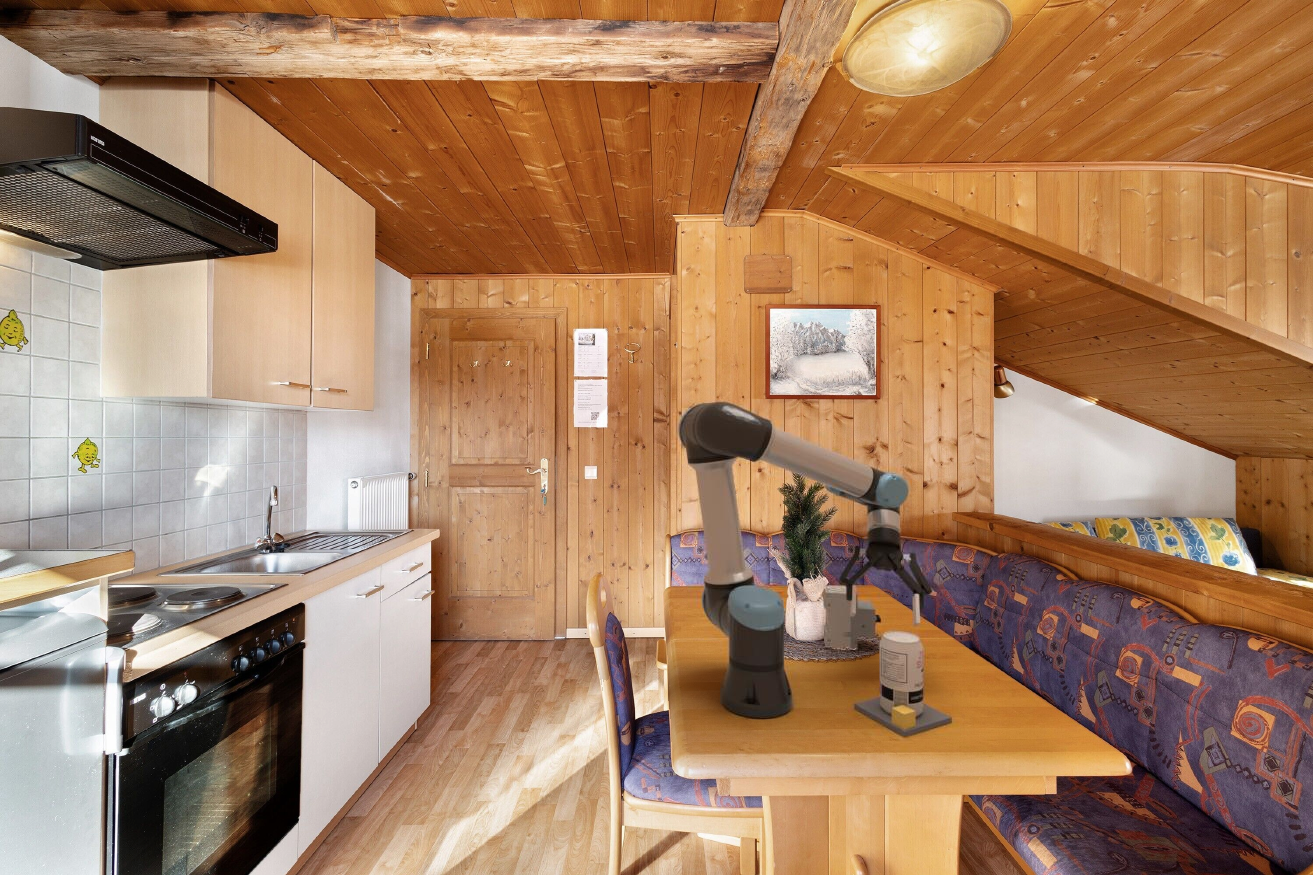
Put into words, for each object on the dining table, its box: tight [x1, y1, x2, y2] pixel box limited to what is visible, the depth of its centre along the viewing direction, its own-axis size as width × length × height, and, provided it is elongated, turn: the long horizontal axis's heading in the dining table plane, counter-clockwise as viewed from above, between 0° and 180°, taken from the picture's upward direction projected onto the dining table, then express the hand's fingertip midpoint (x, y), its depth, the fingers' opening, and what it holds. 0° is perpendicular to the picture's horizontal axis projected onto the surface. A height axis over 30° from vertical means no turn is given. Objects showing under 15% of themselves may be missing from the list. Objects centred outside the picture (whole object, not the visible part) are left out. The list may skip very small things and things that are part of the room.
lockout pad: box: [853, 696, 953, 738], centre depth 122 cm, size 13×13×4 cm
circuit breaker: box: [822, 585, 882, 649], centre depth 161 cm, size 8×14×15 cm, turn 78°
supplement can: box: [879, 630, 924, 717], centre depth 122 cm, size 8×8×15 cm
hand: (884, 619), depth 135 cm, fingers open, 13 cm apart
